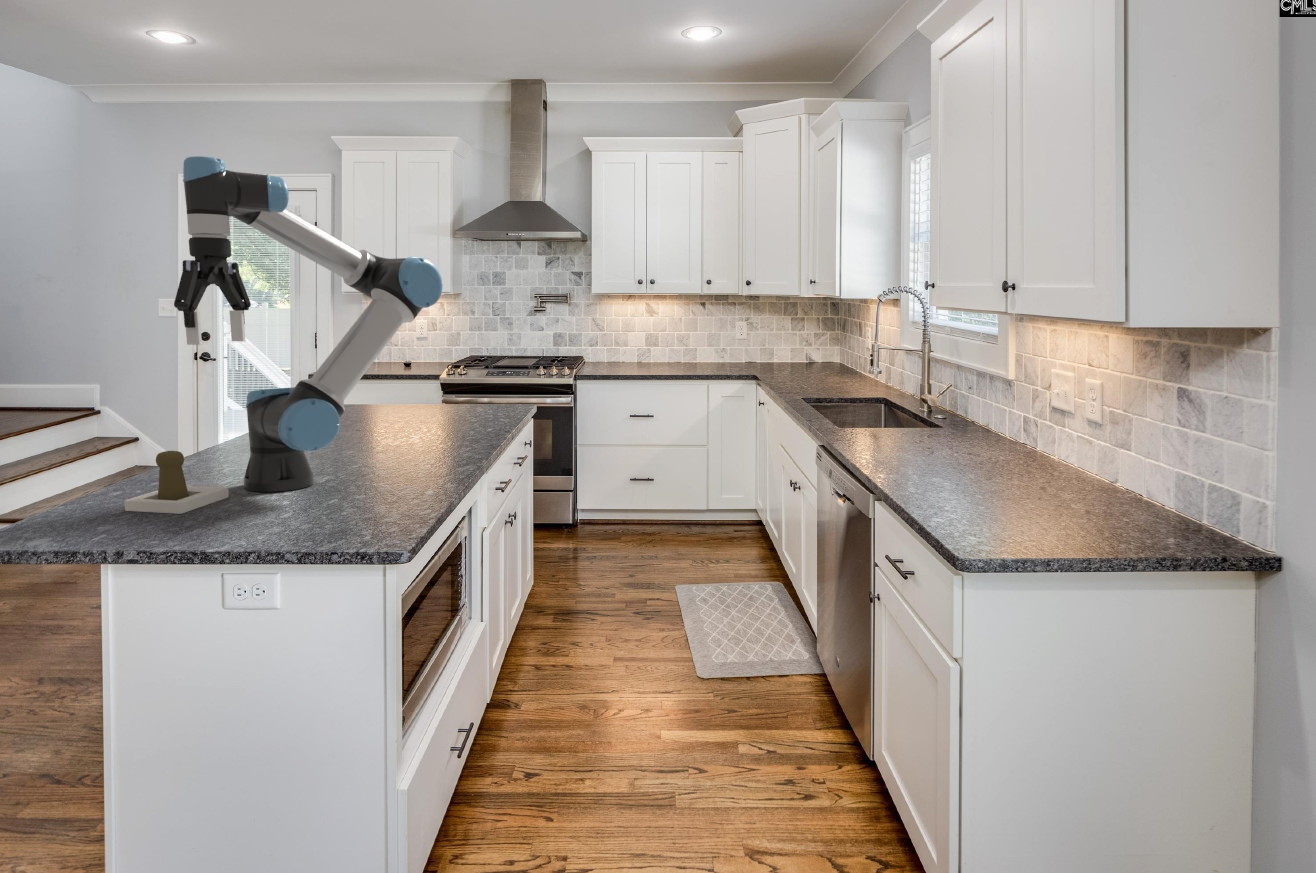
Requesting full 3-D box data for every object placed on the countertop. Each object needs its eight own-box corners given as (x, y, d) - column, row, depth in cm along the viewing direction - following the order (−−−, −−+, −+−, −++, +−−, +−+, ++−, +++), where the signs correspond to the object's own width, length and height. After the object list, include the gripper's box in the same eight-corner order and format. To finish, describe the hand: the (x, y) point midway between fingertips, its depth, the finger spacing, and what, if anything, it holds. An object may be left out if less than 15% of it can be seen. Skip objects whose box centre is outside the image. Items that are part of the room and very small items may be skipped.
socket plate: (176, 494, 191) (175, 484, 191) (228, 497, 189) (228, 487, 189) (125, 510, 176) (124, 500, 176) (181, 513, 174) (180, 503, 174)
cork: (153, 506, 178) (148, 454, 176) (163, 499, 184) (158, 449, 182) (184, 504, 179) (179, 453, 177) (193, 498, 185) (189, 448, 183)
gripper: (232, 241, 184) (239, 339, 188) (146, 232, 160) (156, 345, 163) (264, 241, 183) (270, 340, 186) (182, 232, 159) (191, 346, 162)
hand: (217, 343), depth 175 cm, fingers open, 13 cm apart
